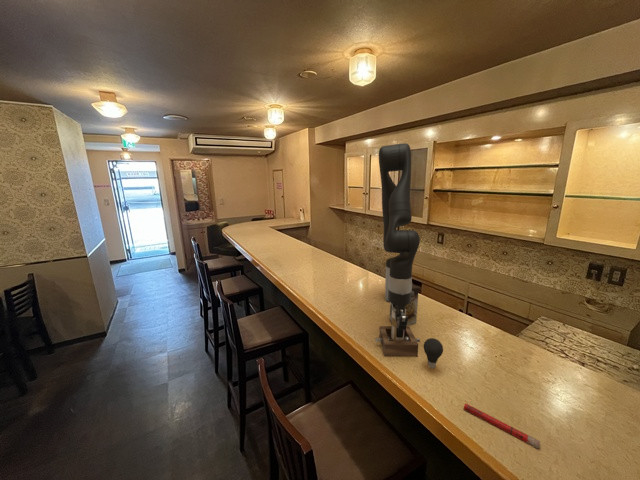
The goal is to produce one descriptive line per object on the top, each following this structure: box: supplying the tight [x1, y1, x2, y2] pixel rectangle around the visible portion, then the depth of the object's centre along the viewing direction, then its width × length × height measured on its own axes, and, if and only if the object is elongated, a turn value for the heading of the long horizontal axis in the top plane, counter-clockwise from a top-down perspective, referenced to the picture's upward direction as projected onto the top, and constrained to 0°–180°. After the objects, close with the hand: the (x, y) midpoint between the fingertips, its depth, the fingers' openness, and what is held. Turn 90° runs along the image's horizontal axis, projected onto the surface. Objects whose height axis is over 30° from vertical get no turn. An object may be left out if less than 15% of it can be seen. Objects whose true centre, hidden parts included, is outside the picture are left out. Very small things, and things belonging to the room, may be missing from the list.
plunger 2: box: [404, 336, 421, 343], centre depth 91 cm, size 2×5×2 cm, turn 87°
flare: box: [463, 403, 541, 450], centre depth 62 cm, size 2×15×2 cm, turn 47°
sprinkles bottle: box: [391, 310, 404, 341], centre depth 91 cm, size 5×5×13 cm
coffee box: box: [388, 283, 420, 326], centre depth 105 cm, size 9×6×16 cm
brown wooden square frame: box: [378, 325, 419, 358], centre depth 92 cm, size 11×11×5 cm
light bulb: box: [423, 337, 444, 369], centre depth 80 cm, size 6×6×10 cm
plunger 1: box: [374, 337, 391, 343], centre depth 92 cm, size 2×5×2 cm, turn 87°
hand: (397, 332), depth 91 cm, fingers closed on sprinkles bottle, 4 cm apart
